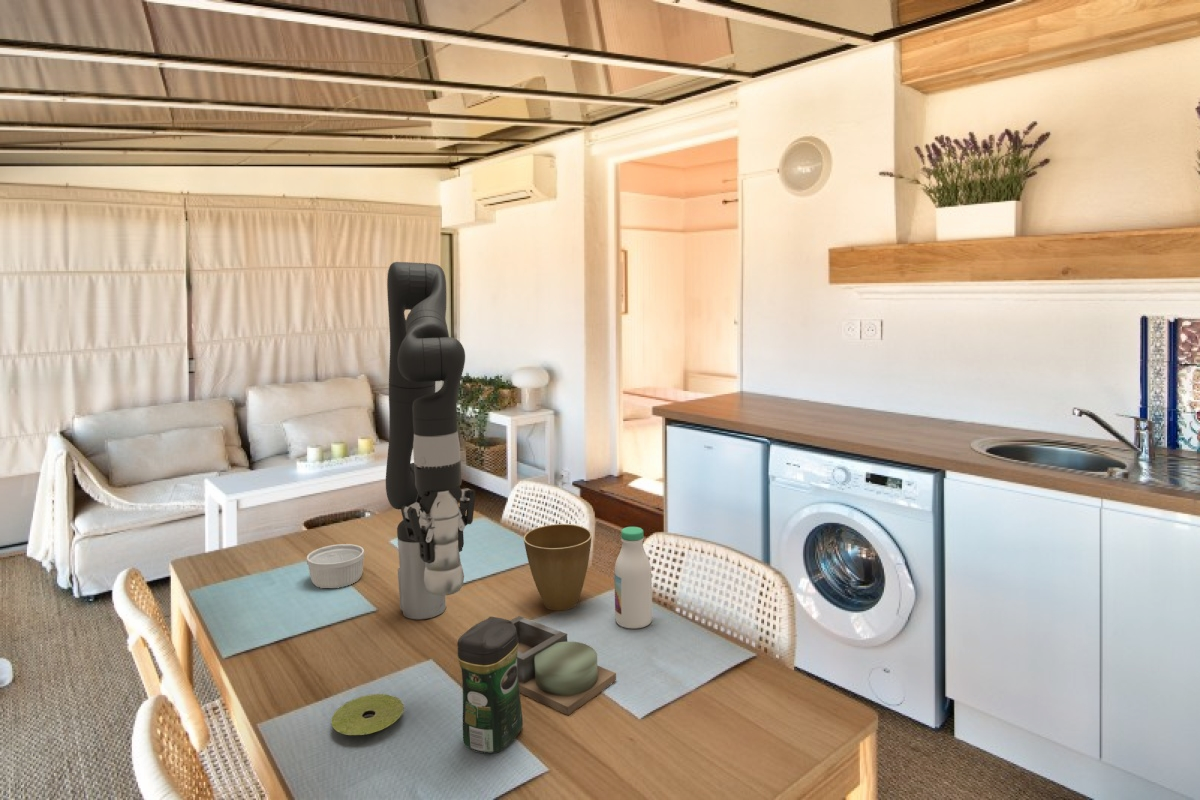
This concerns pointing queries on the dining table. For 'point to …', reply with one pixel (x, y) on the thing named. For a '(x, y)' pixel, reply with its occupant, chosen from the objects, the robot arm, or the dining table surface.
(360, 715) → the green sanding disc
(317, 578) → the ramekin
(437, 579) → the plastic bottle
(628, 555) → the milk bottle
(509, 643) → the coffee jar
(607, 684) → the stand
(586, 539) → the plant pot
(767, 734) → the dining table surface
